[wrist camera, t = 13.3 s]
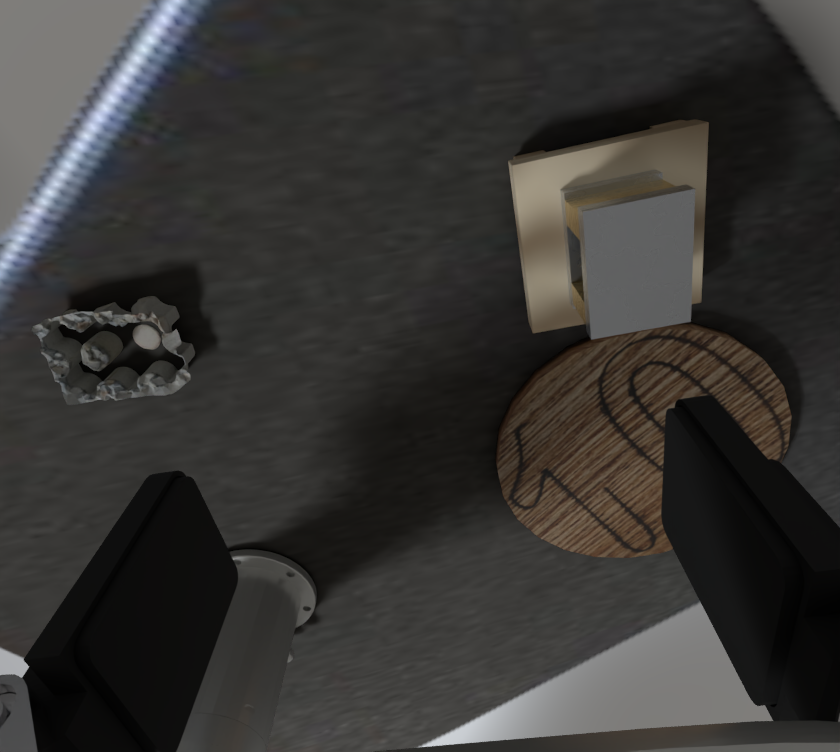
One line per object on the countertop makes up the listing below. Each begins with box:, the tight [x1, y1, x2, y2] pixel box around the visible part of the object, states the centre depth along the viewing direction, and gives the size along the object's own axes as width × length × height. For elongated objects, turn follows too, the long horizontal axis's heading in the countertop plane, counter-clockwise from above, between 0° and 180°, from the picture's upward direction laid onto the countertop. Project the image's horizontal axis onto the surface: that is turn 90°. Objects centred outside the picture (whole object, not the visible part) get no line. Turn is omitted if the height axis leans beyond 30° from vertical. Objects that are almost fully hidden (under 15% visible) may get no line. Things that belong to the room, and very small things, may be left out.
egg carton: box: [32, 296, 195, 405], centre depth 43 cm, size 11×8×4 cm
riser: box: [508, 119, 709, 333], centre depth 38 cm, size 12×12×3 cm
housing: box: [560, 169, 695, 340], centre depth 35 cm, size 6×8×6 cm
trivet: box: [495, 322, 792, 558], centre depth 49 cm, size 25×25×2 cm
